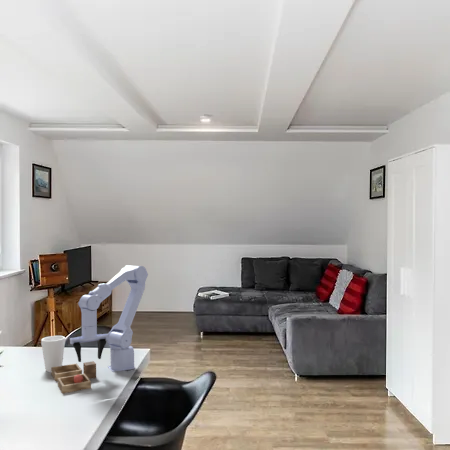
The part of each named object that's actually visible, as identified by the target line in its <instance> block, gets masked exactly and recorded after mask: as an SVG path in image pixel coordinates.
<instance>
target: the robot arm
mask: <svg viewBox="0 0 450 450" xmlns="http://www.w3.org/2000/svg"><path fill="white" fill-rule="evenodd" d="M148 276H149V273H148V271H147V268H146V267H145V266H143V265H130V264H126V265H125V266H124V267H122V268H121V269H120V271H119V272H118V273H117V274H116V275H114V276H113V277H112V278H111V279H110V280H108V282H106V283H104V282H103V283H99V284H98V285H97V287H95V288H94V289H93V290H90V291H89V292H88V294H84V295H82V296H81V297H80V298H79V301H78V303H77V304H78V306H79V308H80V312H81V336H77V337H70V338H69V344H70V345H72V346H73V348H74V350H75V354H76V357H77V361H78V362H79V363H81V362H82V345H81V344H82V343H88V342H95V341H97V359H98V360H101V359H102V354H103V351H104V348H105V346H106V344H108V345H109V348H110V365H108V366H107V368H108V369H109V370H110V371H111V372H113V373H114V372H115V373H116V372H121V371H130V370H134V369H136V367H135V351H134V350H135V349H134V347H133V345H131V344H132V340H133V338H132V337H133V334H134V332H133V330H132V327H131V326H132V324H133V321H134V319H135V315H136V313H137V311H138V308H139V305H140V303H141V300H142V296H143V294H144V292H145V289H146V282H147V278H148ZM124 282H127V284H128V285H129V286H130V291H129V293H128V296H127V298H126V301H125V304H124V307H123V309H122V311H121V315H120V316H119V319H118V322H117V323H116V324H114V325H113V326H111V327H112V328H111V329H110V331H108V333H103V334H102V333H99V334H98V327H97V326H98V324H97V323H98V321H97V320H98V319H97V317H98V316H97V315H98V313H97V311H98V310H97V309H99V307H100V305H101V303H102V302H103V301H104V300H105V299H107V298H108V297H109V296H111V295H112V292H113V290H114V289H115V288H117V287H118V286H120V285H121V284H122V283H124Z"/></svg>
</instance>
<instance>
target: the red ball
mask: <svg viewBox="0 0 450 450" xmlns="http://www.w3.org/2000/svg"><path fill="white" fill-rule="evenodd" d="M82 381H83V377H82V375H76V376H75V377H74V382H75V383H81V382H82Z"/></svg>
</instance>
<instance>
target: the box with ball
mask: <svg viewBox="0 0 450 450" xmlns="http://www.w3.org/2000/svg"><path fill="white" fill-rule="evenodd" d="M80 375H82V377H83V381H82V382H81V383H75V382H74V377H75V376H76V375H74V376H68V377H62V378H58V381H57V387H58V388H59V390H60V392H61V393H62V394H67V393H68V394H69V393H73V392H77V391H84V390H88V389H89V390H90V389H92V381H91V379H89V378H88V377H87V376H86V375H85V374H84V373H82V374H80Z"/></svg>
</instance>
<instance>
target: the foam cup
mask: <svg viewBox="0 0 450 450" xmlns="http://www.w3.org/2000/svg"><path fill="white" fill-rule="evenodd" d="M40 341H41V343H40V345H41V348H42V349H41V350H42V355H43V362H44V369H45V371H46V372H49V373H51V367H57V366H63V360H64V353H65V346H66V345H65V344H66V337H65V336H63V335H52V336H51V335H49V336H45V337H43V338H41V340H40Z"/></svg>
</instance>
